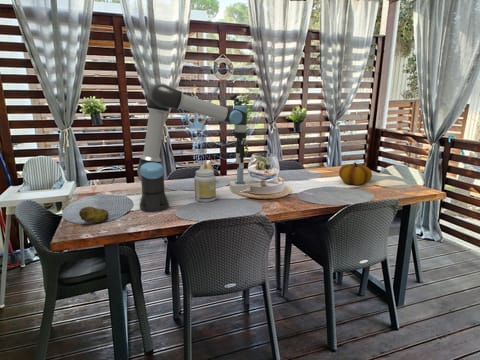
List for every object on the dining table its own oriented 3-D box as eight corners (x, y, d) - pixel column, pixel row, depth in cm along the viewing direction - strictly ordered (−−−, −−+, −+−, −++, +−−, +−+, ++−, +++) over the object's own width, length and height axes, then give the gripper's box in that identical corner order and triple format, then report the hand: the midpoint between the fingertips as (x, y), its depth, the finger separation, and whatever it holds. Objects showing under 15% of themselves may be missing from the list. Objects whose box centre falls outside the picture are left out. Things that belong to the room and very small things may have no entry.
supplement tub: (220, 198, 191) (219, 170, 187) (206, 204, 182) (206, 174, 177) (204, 194, 198) (203, 167, 193) (190, 199, 188) (189, 171, 184)
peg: (243, 190, 207) (243, 169, 203) (237, 190, 206) (237, 169, 203) (242, 188, 211) (242, 167, 207) (236, 188, 210) (236, 167, 206)
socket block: (251, 192, 204) (251, 185, 203) (232, 192, 202) (232, 185, 201) (247, 186, 215) (247, 180, 214) (229, 187, 213) (229, 180, 212)
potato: (111, 222, 155) (109, 206, 153) (81, 227, 149) (79, 211, 147) (108, 216, 162) (106, 201, 160) (79, 221, 156) (77, 205, 154)
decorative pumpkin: (367, 189, 212) (370, 166, 208) (334, 184, 223) (335, 162, 219) (373, 182, 229) (376, 161, 225) (341, 177, 240) (343, 157, 236)
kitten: (204, 179, 231) (204, 159, 227) (217, 181, 228) (217, 160, 224) (195, 185, 217) (194, 163, 213) (209, 186, 214) (208, 164, 210)
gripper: (250, 134, 188) (249, 169, 193) (243, 129, 211) (242, 161, 217) (237, 133, 186) (236, 170, 192) (231, 129, 210) (231, 161, 216)
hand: (239, 165), depth 204 cm, fingers open, 13 cm apart
